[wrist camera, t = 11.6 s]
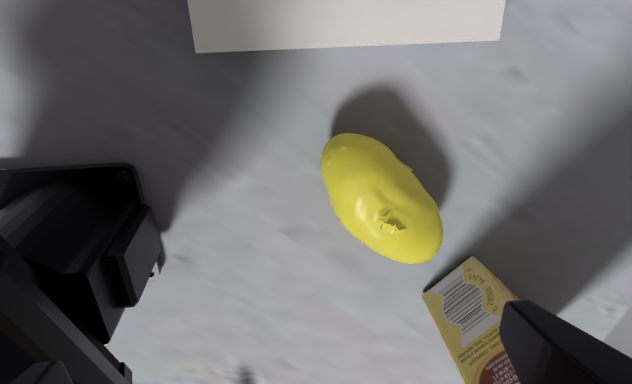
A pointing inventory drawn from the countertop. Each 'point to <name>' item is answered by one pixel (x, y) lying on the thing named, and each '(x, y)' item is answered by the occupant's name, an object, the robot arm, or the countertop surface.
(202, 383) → the countertop surface
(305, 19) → the collar plate
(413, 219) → the yellow elongated oval piece
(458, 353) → the candy box
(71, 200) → the robot arm
